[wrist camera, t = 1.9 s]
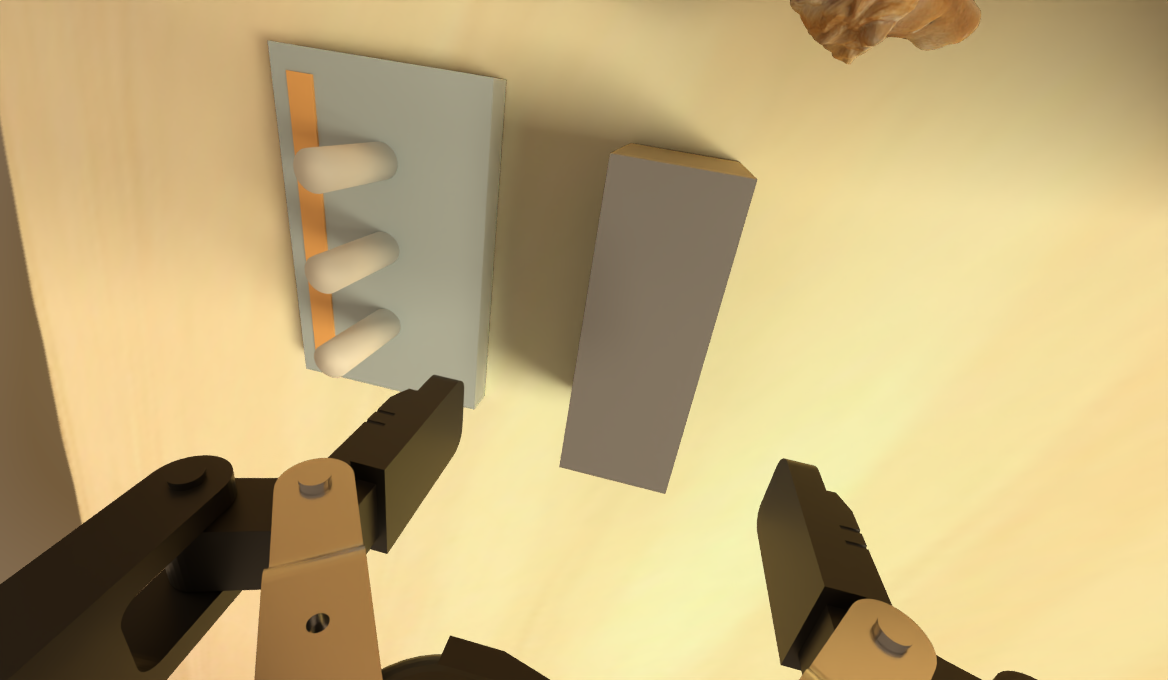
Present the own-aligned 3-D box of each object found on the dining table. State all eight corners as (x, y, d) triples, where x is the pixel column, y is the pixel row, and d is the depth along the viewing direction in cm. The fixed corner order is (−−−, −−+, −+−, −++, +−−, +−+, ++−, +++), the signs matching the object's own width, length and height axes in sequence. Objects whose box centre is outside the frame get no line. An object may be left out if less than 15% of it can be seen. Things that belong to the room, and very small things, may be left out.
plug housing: (739, 162, 20) (757, 179, 15) (670, 414, 26) (665, 493, 21) (631, 142, 21) (610, 153, 15) (586, 394, 27) (559, 467, 21)
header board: (506, 80, 21) (444, 68, 16) (484, 395, 28) (436, 460, 23) (293, 44, 22) (167, 23, 17) (324, 356, 29) (242, 410, 24)
